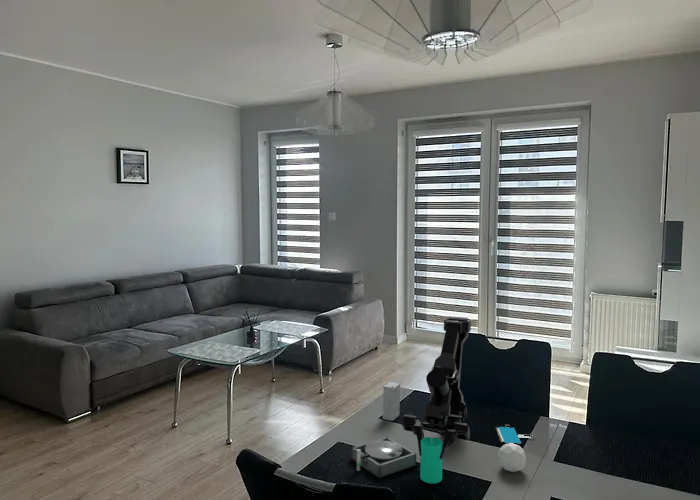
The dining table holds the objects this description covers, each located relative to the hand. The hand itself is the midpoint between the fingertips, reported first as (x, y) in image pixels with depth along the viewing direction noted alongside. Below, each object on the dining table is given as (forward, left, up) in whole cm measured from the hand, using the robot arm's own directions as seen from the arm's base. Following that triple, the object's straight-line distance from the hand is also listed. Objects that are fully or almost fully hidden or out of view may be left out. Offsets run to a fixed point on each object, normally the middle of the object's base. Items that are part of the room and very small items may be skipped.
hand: (430, 457), depth 146 cm
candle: (-1, -1, -7) cm, 7 cm away
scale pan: (+5, -16, -4) cm, 17 cm away
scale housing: (+5, -16, -7) cm, 18 cm away
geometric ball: (-25, +8, -7) cm, 27 cm away
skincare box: (-20, -41, -7) cm, 46 cm away
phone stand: (-44, -6, -8) cm, 45 cm away
